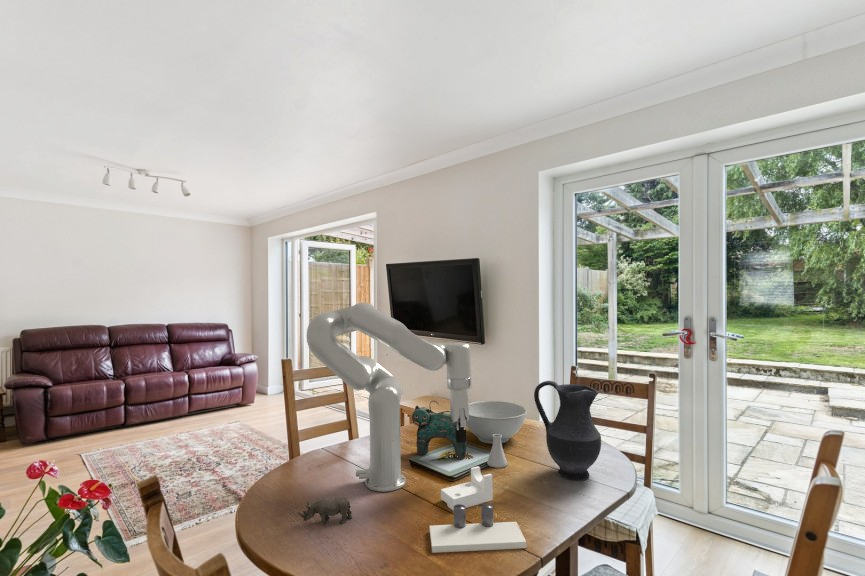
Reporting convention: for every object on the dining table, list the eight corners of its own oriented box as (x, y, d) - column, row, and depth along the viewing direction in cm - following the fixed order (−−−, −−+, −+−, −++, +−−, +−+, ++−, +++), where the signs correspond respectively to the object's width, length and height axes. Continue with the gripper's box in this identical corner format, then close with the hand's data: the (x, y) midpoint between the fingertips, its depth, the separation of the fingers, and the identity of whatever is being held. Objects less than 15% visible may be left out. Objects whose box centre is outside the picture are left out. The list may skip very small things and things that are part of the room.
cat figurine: (411, 455, 163) (411, 400, 163) (417, 449, 169) (417, 396, 169) (464, 461, 156) (463, 404, 157) (468, 455, 163) (468, 400, 163)
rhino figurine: (299, 519, 118) (299, 496, 118) (352, 516, 119) (352, 493, 120) (296, 527, 114) (296, 504, 114) (351, 524, 115) (351, 500, 115)
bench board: (432, 552, 102) (432, 546, 102) (429, 531, 111) (429, 525, 111) (526, 548, 104) (526, 541, 104) (516, 527, 113) (516, 521, 113)
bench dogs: (454, 534, 110) (454, 510, 110) (453, 528, 113) (452, 504, 113) (494, 533, 110) (494, 508, 110) (492, 526, 113) (492, 502, 113)
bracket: (478, 491, 134) (478, 466, 134) (492, 501, 128) (492, 474, 128) (440, 501, 128) (440, 475, 128) (453, 512, 121) (453, 484, 121)
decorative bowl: (536, 435, 184) (536, 405, 184) (512, 455, 162) (511, 422, 162) (478, 425, 199) (478, 397, 199) (448, 442, 176) (447, 412, 176)
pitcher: (602, 489, 134) (601, 389, 134) (532, 480, 141) (531, 385, 141) (600, 467, 150) (599, 378, 150) (537, 460, 157) (536, 375, 157)
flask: (507, 469, 150) (507, 439, 150) (485, 467, 151) (485, 438, 151) (508, 461, 157) (508, 432, 157) (487, 459, 158) (487, 431, 158)
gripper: (444, 378, 146) (446, 434, 146) (449, 388, 131) (451, 450, 131) (467, 377, 147) (469, 433, 147) (475, 387, 132) (477, 449, 132)
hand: (461, 441), depth 139 cm, fingers closed
